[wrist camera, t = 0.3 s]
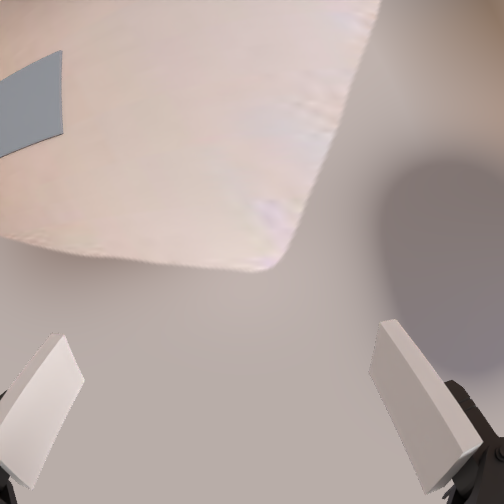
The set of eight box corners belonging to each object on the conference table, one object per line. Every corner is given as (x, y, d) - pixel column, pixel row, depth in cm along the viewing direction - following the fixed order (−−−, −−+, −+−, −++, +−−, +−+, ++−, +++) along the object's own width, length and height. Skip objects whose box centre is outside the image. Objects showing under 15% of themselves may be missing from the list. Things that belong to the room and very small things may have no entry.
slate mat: (-8, 88, 28) (-11, 87, 27) (62, 51, 28) (60, 50, 27) (-7, 160, 32) (-9, 161, 31) (63, 133, 32) (60, 133, 32)
